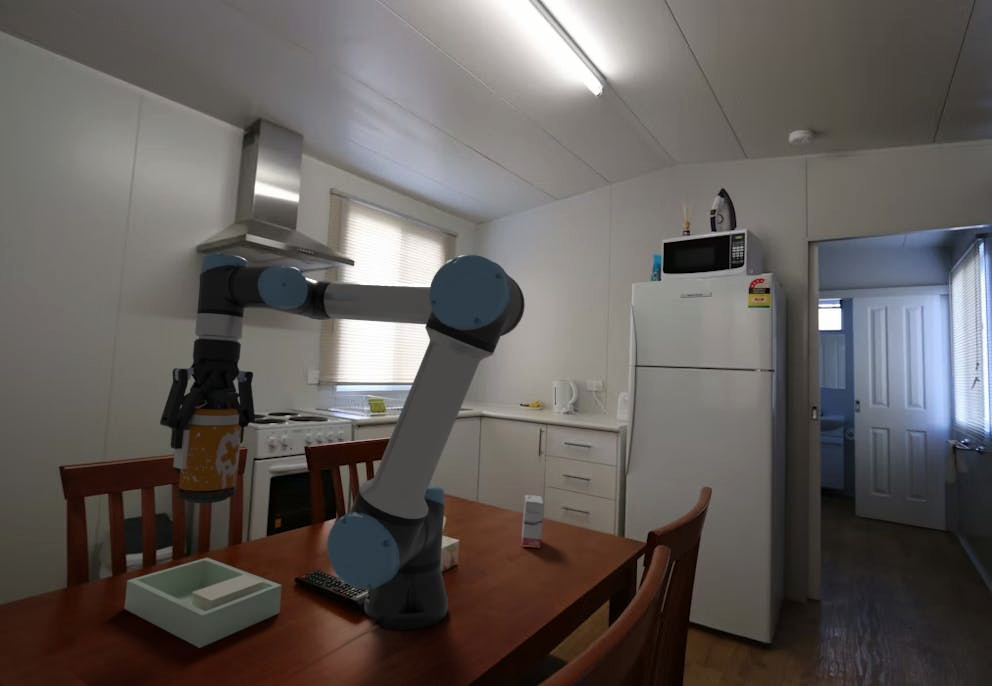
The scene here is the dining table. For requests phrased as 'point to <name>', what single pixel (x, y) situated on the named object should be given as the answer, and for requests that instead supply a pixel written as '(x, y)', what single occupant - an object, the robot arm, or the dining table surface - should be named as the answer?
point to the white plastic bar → (225, 592)
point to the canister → (211, 450)
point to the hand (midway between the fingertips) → (206, 464)
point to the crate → (172, 610)
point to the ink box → (532, 520)
